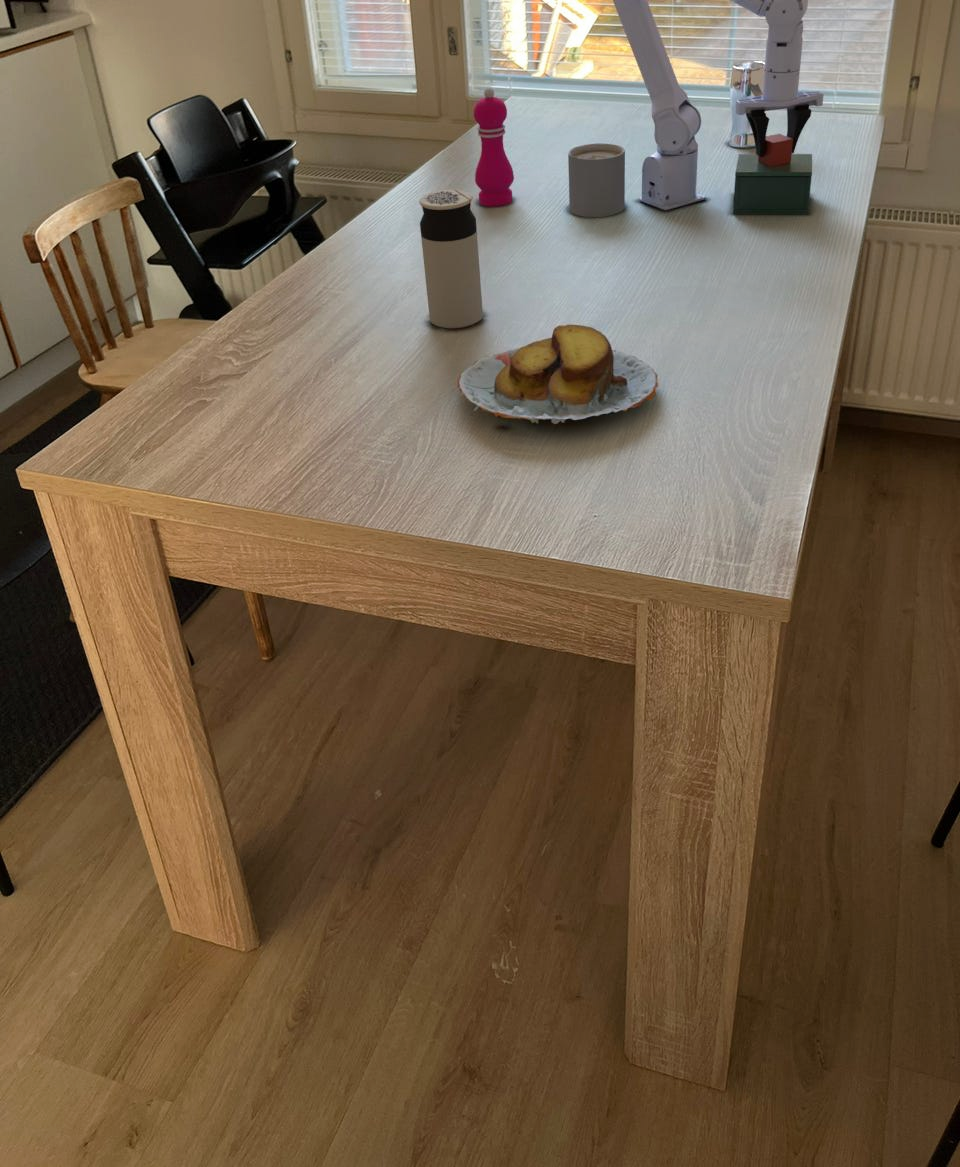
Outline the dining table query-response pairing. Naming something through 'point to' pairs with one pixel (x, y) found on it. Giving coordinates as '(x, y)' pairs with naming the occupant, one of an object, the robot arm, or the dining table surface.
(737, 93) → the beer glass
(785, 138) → the block
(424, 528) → the dining table surface
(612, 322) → the dining table surface
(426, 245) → the travel mug
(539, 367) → the food on plate
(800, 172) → the bin lid
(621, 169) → the coffee mug
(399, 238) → the dining table surface
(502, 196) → the pepper mill
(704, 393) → the dining table surface
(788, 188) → the bin
